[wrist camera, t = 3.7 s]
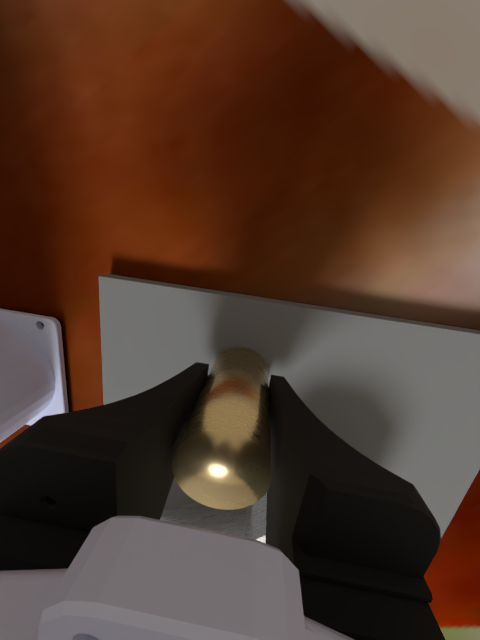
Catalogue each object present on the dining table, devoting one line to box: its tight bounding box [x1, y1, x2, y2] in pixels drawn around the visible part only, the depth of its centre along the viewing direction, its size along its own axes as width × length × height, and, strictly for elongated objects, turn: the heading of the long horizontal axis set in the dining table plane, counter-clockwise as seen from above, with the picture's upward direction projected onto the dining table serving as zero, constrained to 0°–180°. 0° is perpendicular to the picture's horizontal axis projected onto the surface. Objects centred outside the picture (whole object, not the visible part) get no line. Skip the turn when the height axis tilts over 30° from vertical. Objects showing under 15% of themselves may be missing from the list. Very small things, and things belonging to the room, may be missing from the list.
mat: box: [99, 274, 480, 537], centre depth 16 cm, size 22×22×1 cm
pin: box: [172, 347, 272, 510], centre depth 10 cm, size 3×3×6 cm
